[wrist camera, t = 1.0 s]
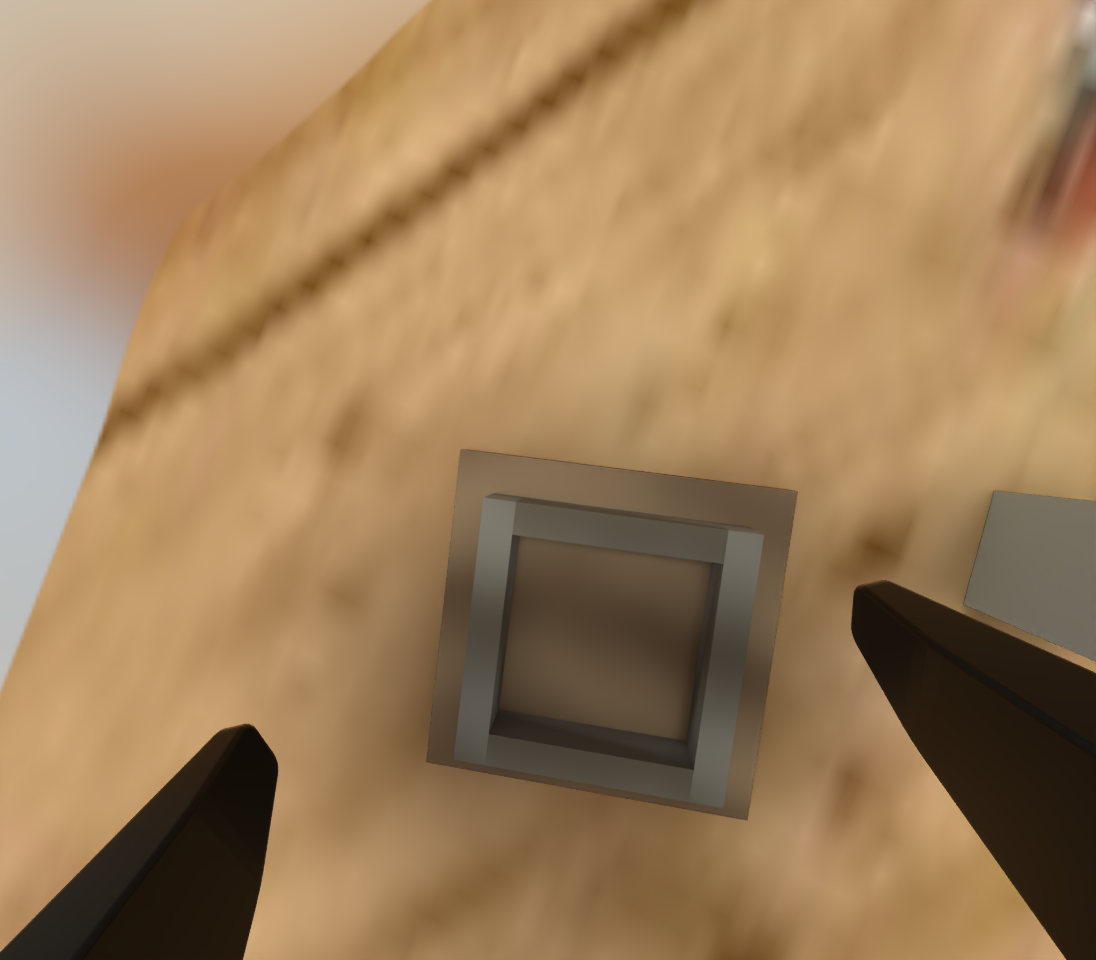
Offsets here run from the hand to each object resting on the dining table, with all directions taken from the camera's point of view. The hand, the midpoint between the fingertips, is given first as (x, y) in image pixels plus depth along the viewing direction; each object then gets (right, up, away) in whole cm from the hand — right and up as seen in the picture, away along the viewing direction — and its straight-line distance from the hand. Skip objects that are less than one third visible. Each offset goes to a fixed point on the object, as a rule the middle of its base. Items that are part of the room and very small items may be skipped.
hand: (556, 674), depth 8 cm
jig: (+2, -3, +15) cm, 15 cm away
